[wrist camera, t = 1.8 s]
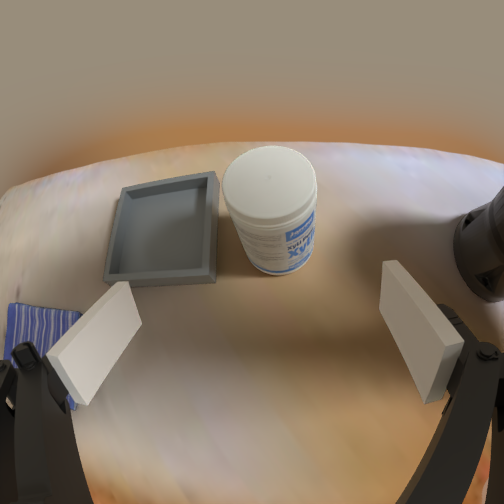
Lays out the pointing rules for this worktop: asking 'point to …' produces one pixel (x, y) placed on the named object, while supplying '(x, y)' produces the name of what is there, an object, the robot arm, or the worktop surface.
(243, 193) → the supplement tub
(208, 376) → the worktop surface
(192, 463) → the worktop surface
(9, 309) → the dish towel
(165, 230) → the tray
